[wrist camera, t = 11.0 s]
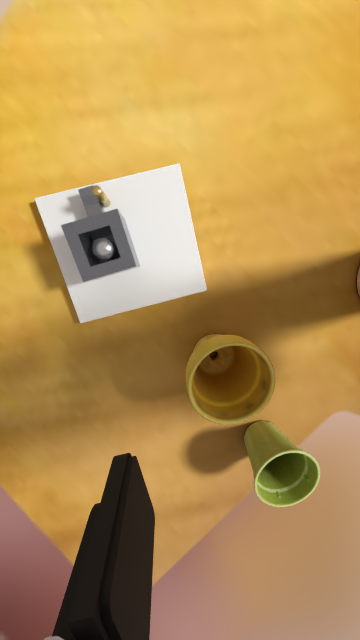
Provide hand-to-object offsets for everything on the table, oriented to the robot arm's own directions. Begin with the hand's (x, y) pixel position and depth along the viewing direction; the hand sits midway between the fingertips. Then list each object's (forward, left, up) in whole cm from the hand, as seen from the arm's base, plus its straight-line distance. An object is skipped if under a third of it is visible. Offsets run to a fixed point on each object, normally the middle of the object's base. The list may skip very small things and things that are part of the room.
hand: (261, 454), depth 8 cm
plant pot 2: (-8, +24, -26) cm, 36 cm away
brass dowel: (+6, -17, -24) cm, 30 cm away
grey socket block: (+8, -13, -24) cm, 29 cm away
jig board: (+5, -11, -26) cm, 28 cm away
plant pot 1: (-3, +7, -26) cm, 27 cm away
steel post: (+7, -11, -24) cm, 28 cm away
